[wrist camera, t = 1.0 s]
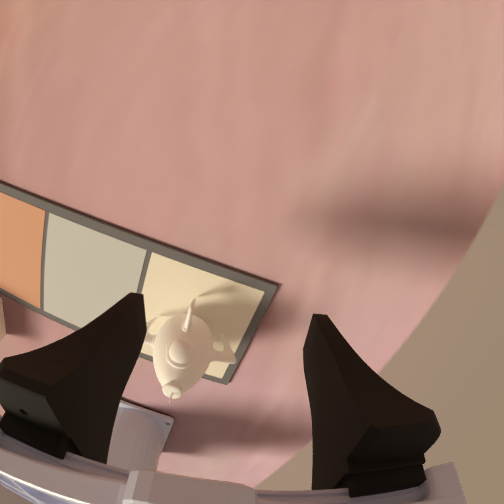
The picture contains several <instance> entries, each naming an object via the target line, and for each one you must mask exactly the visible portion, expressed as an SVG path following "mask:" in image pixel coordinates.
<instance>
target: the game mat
mask: <svg viewBox="0 0 504 504" xmlns="http://www.w3.org/2000/svg"><path fill="white" fill-rule="evenodd" d="M277 287H278V286H277V284H274V283H271V282H268V281H265V280H262V279H260V278H257V277H254V276H251V275H248V274H245V273H242V272H239V271H237V270H234V269H231V268H228V267H225V266H222V265H220V264H217V263H214V262H211V261H208V260H205V259H203V258H200V257H197V256H194V255H192V254H189V253H186V252H183V251H180V250H178V249H175V248H172V247H169V246H167V245H164V244H161V243H158V242H156V241H153V240H150V239H148V238H145V237H142V236H139V235H137V234H134V233H131V232H129V231H126V230H123V229H121V228H118V227H115V226H113V225H110V224H107V223H105V222H102V221H99V220H97V219H94V218H91V217H89V216H86V215H84V214H81V213H78V212H76V211H73V210H70V209H68V208H65V207H63V206H60V205H58V204H55V203H52V202H50V201H47V200H45V199H42V198H40V197H37V196H35V195H32V194H30V193H27V192H24V191H22V190H19V189H17V188H14V187H12V186H9V185H7V184H5V183H2V182H0V293H2V294H4V295H5V296H7V297H9V298H11V299H13V300H14V301H16V302H18V303H20V304H22V305H24V306H26V307H28V308H29V309H31V310H33V311H35V312H37V313H39V314H41V315H43V316H45V317H47V318H49V319H51V320H53V321H55V322H58V323H60V324H62V325H64V326H66V327H68V328H70V329H73V330H75V331H77V330H79V329H81V328H82V327H84V326H85V325H87V324H88V323H90V322H91V321H93V320H94V319H95V318H97V317H98V316H100V315H101V314H102V313H104V312H105V311H106V310H108V309H109V308H110V307H112V306H113V305H114V304H116V303H117V302H118V301H119V300H121V299H122V298H123V297H125V296H126V295H127V294H129V293H130V292H133V293H139V294H144V305H145V316H146V323H147V322H148V321H150V320H151V319H153V318H155V317H157V319H156V320H155V321H154V323H153V324H152V325H151V326H150V328H149V329H148V333H149V334H151V335H156V334H157V333H158V331H159V329H160V328H161V326H162V325H163V324H164V323H165V322H166V321H167V320H168V319H169V318H171V317H172V316H174V315H177V314H187V313H188V308H189V306H190V303H191V302H192V300H193V299H194V298H196V302H195V308H194V312H193V315H194V316H197V317H199V318H201V319H202V320H203V321H204V322H205V323H206V324H207V325H208V327H209V329H210V331H211V334H212V339H213V348H214V350H216V351H223V350H224V345H223V339H222V333H223V334H224V335H225V337H226V339H227V341H228V342H229V344H230V346H231V349H232V351H233V353H234V355H235V358H236V363H235V364H229V363H224V362H219V361H213V362H210V364H209V366H208V369H207V370H206V372H205V374H204V375H203V376H202V378H204V379H207V380H211V381H214V382H218V383H221V384H225V385H227V384H228V382H229V380H230V378H231V377H232V375H233V373H234V371H235V369H236V367H237V365H238V363H239V361H240V360H241V358H242V356H243V354H244V352H245V350H246V348H247V346H248V344H249V342H250V340H251V338H252V336H253V335H254V333H255V331H256V329H257V327H258V325H259V323H260V321H261V319H262V317H263V315H264V313H265V311H266V309H267V307H268V305H269V303H270V301H271V299H272V297H273V295H274V293H275V291H276V289H277ZM139 357H141V358H144V359H146V360H149V361H152V362H153V348H152V347H151V345H149V344H146V343H143V346H142V350H141V352H140V354H139Z"/></svg>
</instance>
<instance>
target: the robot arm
mask: <svg viewBox="0 0 504 504" xmlns="http://www.w3.org/2000/svg"><path fill="white" fill-rule="evenodd" d="M146 333H147V325H146V316H145V305H144V294H139V293H133V292H130V293H129V294H127V295H126V296H125V297H123V298H122V299H121V300H119V301H118V302H117V303H116V304H114V305H113V306H112V307H110V308H109V309H108V310H106V311H105V312H104V313H102V314H101V315H100V316H98V317H97V318H95V319H94V320H93V321H91V322H90V323H88V324H87V325H85V326H84V327H82V328H81V329H79V330H77V331H76V332H74V333H72V334H70V335H68V336H66V337H65V338H63V339H60V340H58V341H56V342H54V343H51V344H49V345H47V346H45V347H42V348H39V349H36V350H33V351H30V352H27V353H23V354H19V355H15V356H11V357H6V358H4V359H3V360H2V362H1V363H0V404H1V406H2V407H3V409H4V410H5V414H4V415H3V417H2V416H1V415H0V484H2V485H3V486H5V487H6V488H8V489H10V490H11V491H13V492H15V493H16V494H18V495H20V496H22V497H23V498H25V499H27V500H29V501H31V502H32V503H35V504H466V501H465V497H464V494H463V490H462V487H461V484H460V481H459V478H458V475H457V472H456V469H455V466H454V463H453V462H449V463H446V464H442V465H438V466H433V467H431V468H428V469H426V470H424V469H423V465H422V464H424V463H425V457H424V453H425V452H426V451H427V450H428V449H429V448H430V447H431V446H432V445H433V444H434V443H435V442H436V440H437V439H438V437H439V436H440V433H441V428H440V426H439V423H438V421H437V418H436V416H435V413H434V411H433V410H431V409H429V408H427V407H425V406H423V405H421V404H419V403H417V402H415V401H413V400H412V399H410V398H409V397H407V396H405V395H404V394H402V393H401V392H399V391H398V390H396V389H395V388H394V387H392V386H391V385H389V384H388V383H387V382H386V381H384V380H383V379H382V378H381V377H380V376H379V375H378V374H376V373H375V372H374V371H373V370H372V369H371V368H370V367H369V366H368V365H367V364H366V363H365V362H364V361H363V360H362V359H361V358H360V357H359V355H358V354H357V353H356V352H355V351H354V350H353V349H352V347H351V346H350V345H349V344H348V342H347V341H346V340H345V339H344V337H343V336H342V335H341V333H340V332H339V331H338V329H337V328H336V326H335V325H334V324H333V322H332V321H331V320H330V318H329V317H328V316H327V315H323V314H313V316H312V319H311V323H310V326H309V330H308V334H307V337H306V341H305V344H304V347H303V361H304V373H305V379H306V385H307V391H308V397H309V403H310V408H311V416H312V436H313V468H312V490H307V491H271V490H268V491H267V490H254V489H253V488H251V487H248V486H246V485H243V484H239V483H233V482H227V481H217V480H209V479H201V478H194V477H188V476H181V475H176V474H170V473H165V472H160V471H157V466H158V462H159V457H160V454H161V452H162V450H163V447H164V445H165V442H166V440H167V437H168V435H169V432H170V430H171V427H172V425H173V422H174V419H173V418H172V417H170V416H167V415H163V414H160V413H157V412H154V411H151V410H148V409H145V408H142V407H140V406H137V405H134V404H131V403H128V402H126V401H123V400H121V397H122V394H123V391H124V389H125V386H126V384H127V382H128V379H129V377H130V375H131V373H132V370H133V368H134V366H135V363H136V361H137V359H138V357H139V354H140V352H141V350H142V346H143V343H144V340H145V336H146Z"/></svg>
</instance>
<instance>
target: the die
mask: <svg viewBox="0 0 504 504" xmlns="http://www.w3.org/2000/svg"><path fill="white" fill-rule="evenodd" d="M5 335H6V328H5V320H4V312H3V302H2V298H1V297H0V341H1V340H2V339H3V337H4V336H5Z"/></svg>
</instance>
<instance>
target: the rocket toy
mask: <svg viewBox="0 0 504 504" xmlns="http://www.w3.org/2000/svg"><path fill="white" fill-rule="evenodd" d="M195 302H196V298H194V299H193V300H192V302H191V303H190V306H189V308H188V313H187V314H177V315H174V316H172V317H171V318H169V319H168V320H167V321H166V322H165V323H164V324H163V325H162V326H161V328H160V329H159V331H158V333H157V334H156V335H151V334H149V333H148V329H149V328H150V326H151V325H152V324H153V323H154V321H155V320H156V319H157V317H155V318H153V319H151V320H150V321H148V322H147V323H146V325H147V333H146V336H145V340H144V343H146V344H149V345H151V347H152V348H153V363H154V368H155V372H156V375H157V378H158V380H159V382H160V384H161V385H162V386H163V389H162V391H163V393H164V395H166V396H167V397H169V398H170V400H169V403H170V402H171V399H172V398H173V399H177V398H180V397H181V396H182V393H183V392H185V391H187V390H189V389H190V388H192V387H193V386H194V385H195V384H196V383H197V382H198V381H199V380H200V379H201V378H202V376H203V375H204V374H205V372H206V370H207V369H208V366H209V364H210V362H213V361H219V362H224V363H229V364H235V363H236V358H235V355H234V353H233V351H232V349H231V346H230V344H229V342H228V341H227V339H226V337H225V335H224V334H223V333H222V339H223V345H224V350H223V351H216V350H214V348H213V339H212V334H211V331H210V329H209V327H208V325H207V324H206V323H205V322H204V321H203V320H202V319H201V318H199V317H197V316H194V315H193V312H194V308H195Z"/></svg>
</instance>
